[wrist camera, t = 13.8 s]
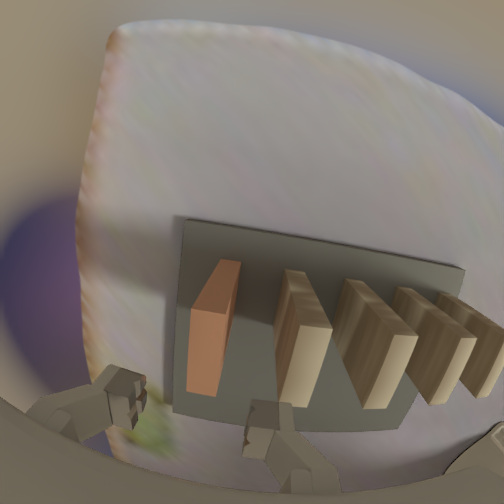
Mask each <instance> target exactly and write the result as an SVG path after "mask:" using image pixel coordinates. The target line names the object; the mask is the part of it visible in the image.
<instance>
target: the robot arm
mask: <svg viewBox="0 0 504 504" xmlns="http://www.w3.org/2000/svg"><path fill="white" fill-rule="evenodd" d="M145 385H146V376H145V375H143V374H139V373H136V372H133V371H130V370H127V369H124V368H121V367H118V366H115V365H112V364H110V365H108V366H107V367H106V368H105V370H104V371H103V372H102V373H101V374H100V375H99V377H98V378H97V379H96V380H95V381H94V383H93V384H92V385H89V384H87V385H84V386H80V387H77V388H74V389H70V390H66V391H63V392H59V393H55V394H52V395H48V396H44V397H41V398H40V399H39V400H38V401H37V402H36V403H35V404H34V405H33V406H32V407H31V408H30V409H29V410H28V411H27V412H26V413H23V412H22V411H20V410H19V409H17V408H16V407H14V406H13V405H11V404H10V403H8V402H7V401H6V400H4V399H3V398H1V397H0V504H504V422H500V423H499V424H497V425H496V426H495V427H494V428H493V429H492V430H491V431H490V432H489V433H488V434H487V435H486V436H484V437H483V438H482V439H480V440H479V441H478V442H476V443H475V444H474V445H472V446H471V447H470V448H469V449H467V450H466V451H465V452H464V453H463V454H462V455H461V456H460V457H458V458H457V459H456V460H455V461H454V462H453V463H452V465H451V466H450V467H449V468H448V469H447V471H446V472H445V474H444V475H442V476H439V477H435V478H431V479H427V480H423V481H419V482H415V483H410V484H405V485H400V486H394V487H388V488H382V489H375V490H367V491H358V492H346V493H342V491H341V486H340V481H339V476H338V471H337V468H336V467H335V466H333V465H332V464H331V463H330V462H329V461H328V460H327V459H326V458H325V457H324V456H323V455H322V454H321V453H320V452H318V451H317V450H316V449H315V448H314V447H313V446H312V445H311V444H310V443H309V442H308V441H307V440H306V439H305V438H304V437H303V436H302V435H301V434H300V433H299V432H295V428H294V419H293V409H292V404H291V403H290V402H276V401H267V400H259V399H252V398H251V402H250V406H249V413H248V414H247V418H246V423H245V430H244V437H245V438H244V442H243V450H242V457H248V458H254V459H262V460H264V461H265V462H266V464H267V465H268V467H269V468H270V470H271V471H272V473H273V474H274V476H275V477H276V479H277V480H278V481H279V483H280V484H281V486H282V488H281V490H280V492H279V493H267V492H255V491H246V490H237V489H230V488H224V487H217V486H212V485H206V484H201V483H196V482H192V481H187V480H183V479H179V478H175V477H171V476H167V475H163V474H160V473H156V472H153V471H150V470H146V469H143V468H140V467H137V466H134V465H131V464H128V463H126V462H123V461H120V460H118V459H115V458H112V457H110V456H107V455H105V454H102V453H100V452H98V451H95V450H93V449H91V448H88V447H86V446H84V445H82V444H80V442H82V441H84V440H86V439H88V438H90V437H92V436H94V435H95V434H97V433H99V432H101V431H103V430H105V429H107V428H109V427H111V426H112V424H113V425H116V426H119V427H122V428H125V429H128V430H131V431H133V429H134V427H135V425H136V423H137V421H138V414H140V413H142V412H143V410H144V408H145V404H146V400H147V391H146V390H145V389H144V387H145Z"/></svg>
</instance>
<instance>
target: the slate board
mask: <svg viewBox="0 0 504 504" xmlns="http://www.w3.org/2000/svg"><path fill="white" fill-rule="evenodd" d="M221 259H226V260H233V261H239V262H241V268H240V275H239V282H238V289H237V296H236V303H235V310H234V317H233V323H232V327H231V332H230V336H229V340H228V345H227V349H226V354H225V358H224V363H223V367H222V372H221V376H220V381H219V385H218V390H217V394H216V397H214V396H208V395H203V394H197V393H192V392H187V391H186V387H187V364H188V346H189V331H190V316H191V308H192V306H193V305H194V303H195V301H196V299H197V298H198V296H199V294H200V293H201V291H202V289H203V288H204V286H205V284H206V283H207V281H208V279H209V278H210V276H211V274H212V273H213V271H214V269H215V268H216V266H217V264H218V263H219V261H220V260H221ZM284 269H291V270H297V271H303V272H305V274H306V276H307V278H308V280H309V282H310V284H311V286H312V288H313V290H314V292H315V294H316V296H317V298H318V300H319V302H320V304H321V306H322V308H323V310H324V312H325V314H326V316H327V318H328V320H329V322H330V324H331V326H332V324H333V320H334V317H335V313H336V310H337V306H338V302H339V298H340V295H341V291H342V287H343V283H344V279H345V278H348V279H354V280H361V281H363V282H364V283H365V284H366V285H367V286H368V287H369V288H370V289H372V290H373V291H374V292H375V293H376V294H377V295H378V296H379V297H380V298H381V299H382V300H383V301H384V302H385V303H386V304H387V305H388V306H389V307H390V306H391V303H392V300H393V297H394V293H395V290H396V286H400V287H407V288H412V289H413V290H414V291H416V292H417V293H419V294H420V295H421V296H423V297H424V298H426V299H427V300H428V301H430V302H431V303H432V304H434V305H435V303H436V300H437V296H438V293H439V292H441V293H448V294H451V295H453V296H455V297H456V298H458V295H459V292H460V288H461V285H462V281H463V278H464V274H465V271H466V270H464V269H461V268H458V267H454V266H449V265H444V264H439V263H435V262H430V261H425V260H420V259H415V258H410V257H405V256H400V255H395V254H390V253H384V252H379V251H374V250H369V249H363V248H358V247H353V246H347V245H342V244H336V243H331V242H325V241H320V240H314V239H308V238H303V237H297V236H291V235H285V234H279V233H274V232H268V231H262V230H256V229H250V228H243V227H237V226H231V225H225V224H218V223H212V222H205V221H199V220H192V219H187V220H185V227H184V235H183V244H182V253H181V263H180V273H179V284H178V296H177V309H176V324H175V342H174V365H173V412H174V413H178V414H182V415H186V416H191V417H196V418H201V419H206V420H211V421H217V422H222V423H229V424H235V425H242V426H245V423H246V418H247V414H248V413H249V406H250V402H251V398H252V399H259V400H267V401H276V402H278V396H277V379H276V364H275V349H274V334H273V323H274V318H275V313H276V309H277V304H278V299H279V294H280V289H281V284H282V279H283V274H284ZM418 392H419V391H418V389H417V388H416V386H415V385H414V384H413V382H412V381H411V379H410V378H409V376H408V375H407V374H406V372H405V371H404V373H403V375H402V377H401V379H400V382H399V384H398V386H397V388H396V390H395V392H394V394H393V396H392V398H391V400H390V402H389V404H388V406H387V408H386V409H363V408H362V406H361V404H360V401H359V399H358V396H357V394H356V392H355V389H354V387H353V385H352V382H351V380H350V378H349V375H348V373H347V371H346V368H345V366H344V364H343V361H342V359H341V357H340V354H339V352H338V350H337V348H336V345H335V343H334V341H333V339H332V336H331V338H330V341H329V344H328V347H327V351H326V354H325V357H324V360H323V363H322V366H321V369H320V372H319V375H318V378H317V381H316V384H315V387H314V389H313V392H312V395H311V398H310V401H309V403H308V406H307V408H305V407H292V409H293V419H294V428H295V431H309V432H363V431H381V430H393V429H398V427H399V426H400V424H401V423H402V421H403V419H404V417H405V416H406V414H407V412H408V410H409V409H410V407H411V405H412V403H413V401H414V400H415V398H416V396H417V394H418Z"/></svg>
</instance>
